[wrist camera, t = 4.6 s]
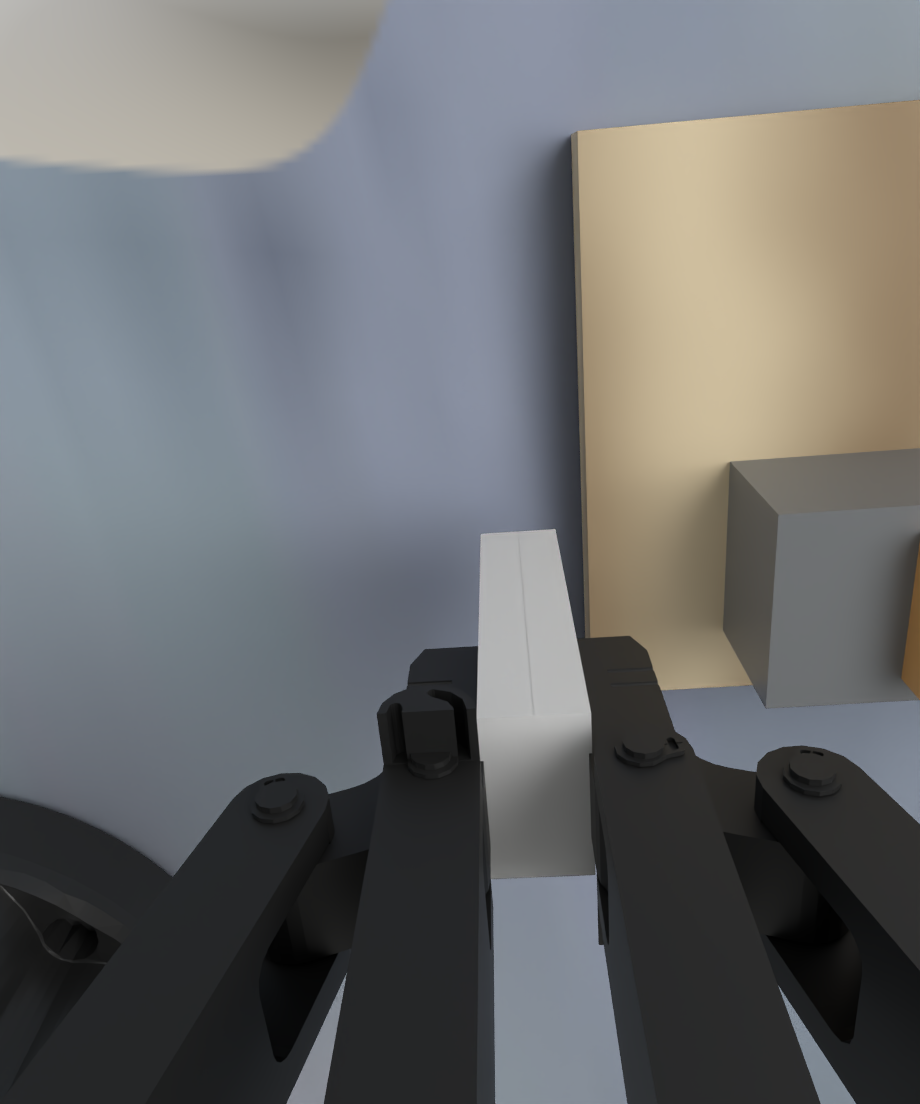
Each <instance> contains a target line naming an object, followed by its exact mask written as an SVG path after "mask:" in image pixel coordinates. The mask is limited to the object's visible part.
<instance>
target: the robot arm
mask: <svg viewBox="0 0 920 1104" xmlns="http://www.w3.org/2000/svg"><path fill="white" fill-rule="evenodd" d="M377 719H378V726H379V733H380V740H381V747H382V755H383V762H384V767H383V772H382V773H381V774H380V775H378V776H377V777H376V778H374V779H372V780H370V781H368V782H366V783H365V784H362V785H359V786H356V787H353V788H350V789H347V790H343V791H339V792H336V793H332V794H328V792H327V789H326V786H325V785H324V784H323V783H322V782H320V781H319V780H318V779H317V778H315V777H312V776H309V775H305V774H301V773H285V774H278V775H274V776H270V777H266V778H263V779H261V780H259V781H257V782H255V783H253V784H251V785H249V786H247V787H246V788H244V789H243V790H242V791H241V792H240V793H239V794H238V795H237V796H236V797H235V798H234V799H233V800H232V801H231V802H230V804H229V805H228V806H227V808H226V809H225V810H224V811H223V813H222V814H221V815H220V817H219V818H218V819H217V821H216V822H215V823H214V825H213V826H212V827H211V828H210V830H209V831H208V832H207V834H206V835H205V836H204V838H203V839H202V840H201V841H200V843H199V844H198V845H197V847H196V848H195V849H194V851H193V852H192V853H191V854H190V856H189V857H188V858H187V860H186V861H185V862H184V864H183V865H182V866H181V867H180V869H179V870H178V871H177V873H176V874H175V875H174V877H173V878H172V877H171V876H170V875H168V874H167V873H166V872H165V871H163V870H162V869H161V868H160V867H158V866H157V865H156V864H155V863H153V862H152V861H150V860H149V859H147V858H146V857H145V856H143V855H142V854H140V853H139V852H137V851H136V850H134V849H133V848H131V847H129V846H128V845H126V844H124V843H123V842H121V841H119V840H118V839H116V838H114V837H112V836H110V835H108V834H106V833H104V832H103V831H101V830H98V829H96V828H94V827H92V826H90V825H88V824H86V823H83V822H81V821H79V820H76V819H74V818H71V817H69V816H66V815H64V814H61V813H58V812H55V811H52V810H49V809H46V808H43V807H40V806H36V805H32V804H29V803H25V802H22V801H17V800H12V799H8V798H3V797H0V1104H286V1103H287V1101H288V1099H289V1096H290V1094H291V1092H292V1090H293V1088H294V1086H295V1083H296V1081H297V1079H298V1077H299V1075H300V1073H301V1070H302V1068H303V1066H304V1064H305V1062H306V1060H307V1057H308V1055H309V1053H310V1051H311V1049H312V1047H313V1044H314V1042H315V1040H316V1038H317V1036H318V1034H319V1031H320V1029H321V1027H322V1025H323V1023H324V1021H325V1018H326V1016H327V1014H328V1012H329V1010H330V1008H331V1005H332V1003H333V1001H334V999H335V997H336V995H337V992H338V990H339V988H340V986H341V984H342V982H343V979H344V977H345V975H346V973H347V976H346V982H345V987H344V993H343V999H342V1004H341V1010H340V1016H339V1021H338V1027H337V1032H336V1038H335V1044H334V1049H333V1055H332V1061H331V1066H330V1072H329V1078H328V1083H327V1089H326V1095H325V1100H324V1104H495V1051H494V948H493V901H492V889H491V879H506V878H531V877H556V876H580V875H595V864H596V870H597V895H598V934H599V945H604V949H605V956H606V962H607V969H608V976H609V982H610V989H611V996H612V1003H613V1009H614V1016H615V1023H616V1030H617V1036H618V1043H619V1050H620V1056H621V1063H622V1070H623V1077H624V1083H625V1090H626V1097H627V1104H820V1101H819V1098H818V1095H817V1092H816V1090H815V1087H814V1084H813V1081H812V1078H811V1076H810V1073H809V1070H808V1067H807V1065H806V1062H805V1059H804V1056H803V1053H802V1051H801V1048H800V1045H799V1042H798V1040H797V1037H796V1034H795V1031H794V1028H793V1026H792V1023H791V1020H790V1017H789V1014H788V1012H787V1009H786V1006H785V1003H784V1001H783V998H782V995H781V992H780V989H779V987H780V988H781V990H782V991H783V993H784V994H785V996H786V997H787V999H788V1001H789V1002H790V1004H791V1005H792V1007H793V1008H794V1010H795V1011H796V1013H797V1014H798V1016H799V1017H800V1019H801V1020H802V1022H803V1023H804V1025H805V1026H806V1028H807V1029H808V1031H809V1032H810V1034H811V1035H812V1037H813V1038H814V1040H815V1042H816V1043H817V1045H818V1046H819V1048H820V1049H821V1051H822V1052H823V1054H824V1055H825V1057H826V1058H827V1060H828V1061H829V1063H830V1064H831V1066H832V1067H833V1069H834V1070H835V1072H836V1073H837V1075H838V1076H839V1078H840V1080H841V1081H842V1083H843V1084H844V1086H845V1087H846V1089H847V1090H848V1092H849V1093H850V1095H851V1096H852V1098H853V1099H854V1101H855V1102H856V1104H920V824H919V823H918V822H917V821H916V820H915V819H914V818H913V817H911V816H910V815H909V814H908V813H907V812H906V811H905V810H904V809H903V808H902V807H901V806H900V805H899V804H898V803H897V802H896V801H895V800H893V799H892V798H891V797H890V796H889V795H888V794H887V793H886V792H885V791H884V790H883V789H882V788H881V787H880V786H879V785H878V784H877V783H875V782H874V781H873V780H872V779H871V778H870V777H869V776H868V775H867V774H866V773H865V772H864V771H863V770H862V769H861V768H860V767H858V766H857V765H855V764H854V763H852V762H851V761H850V760H848V759H847V758H845V757H844V756H841V755H839V754H836V753H833V752H831V751H828V750H825V749H821V748H815V747H808V746H792V747H782V748H779V749H777V750H774V751H771V752H768V753H767V754H766V755H765V756H764V757H763V758H762V759H761V760H760V761H759V762H758V765H757V772H752V771H745V770H739V769H733V768H728V767H724V766H719V765H715V764H712V763H710V762H707V761H705V760H702V759H700V758H699V757H697V756H695V753H694V750H693V748H692V747H691V745H690V744H689V743H688V741H687V740H686V738H684V737H683V736H681V735H680V734H678V733H676V732H675V730H674V727H673V724H672V721H671V718H670V715H669V712H668V710H667V707H666V704H665V701H664V698H663V695H662V692H661V689H660V686H659V685H658V680H657V677H656V674H655V672H654V671H653V666H652V663H651V660H650V657H649V654H648V651H647V649H645V648H644V647H643V646H642V645H640V644H639V643H638V642H637V641H636V640H634V639H633V638H632V637H631V636H615V637H597V638H579V639H577V638H576V632H575V627H574V622H573V617H572V612H571V607H570V602H569V597H568V591H567V586H566V581H565V576H564V571H563V566H562V561H561V556H560V550H559V545H558V540H557V535H556V530H555V529H548V530H533V531H517V532H502V533H486V534H481V547H480V590H479V634H478V646H475V647H458V648H440V649H425V650H424V651H423V652H422V653H421V654H420V655H419V656H418V657H417V659H416V660H415V661H414V662H413V663H412V664H411V665H410V671H409V677H408V686H407V689H406V690H403V691H401V692H398V693H396V694H394V695H393V696H391V697H390V698H389V699H387V700H386V701H385V702H383V703H382V705H381V707H380V709H379V711H378V712H377ZM778 985H779V987H778Z"/></svg>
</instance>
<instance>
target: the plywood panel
mask: <svg viewBox="0 0 920 1104" xmlns="http://www.w3.org/2000/svg"><path fill="white" fill-rule="evenodd" d="M571 149H572V185H573V220H574V256H575V291H576V327H577V362H578V398H579V433H580V469H581V504H582V540H583V576H584V611H585V638H597V637H615V636H631V637H632V638H633V639H634V640H636V641H637V642H638V643H639V644H640V645H642V646H643V647H644V648H645V649H647V651H648V654H649V657H650V660H651V663H652V666H653V671H654V672H655V674H656V677H657V680H658V685H659V686H660V689H661V690H676V689H693V688H711V687H728V686H746V685H753V684H752V682H751V681H750V679H749V677H748V675H747V673H746V671H745V670H744V668H743V666H742V664H741V662H740V661H739V659H738V657H737V655H736V653H735V651H734V650H733V648H732V646H731V644H730V642H729V641H728V639H727V637H726V635H725V633H724V631H723V616H724V592H725V568H726V544H727V520H728V496H729V472H730V462H731V461H745V460H759V459H773V458H787V457H801V456H816V455H830V454H844V453H858V452H872V451H886V450H901V449H915V448H920V100H913V101H902V102H891V103H880V104H869V105H858V106H847V107H836V108H825V109H814V110H803V111H792V112H781V113H770V114H759V115H748V116H737V117H726V118H715V119H704V120H693V121H682V122H671V123H660V124H649V125H638V126H627V127H616V128H605V129H594V130H583V131H577V132H575V133H573V134H572V135H571Z"/></svg>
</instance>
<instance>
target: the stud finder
mask: <svg viewBox="0 0 920 1104" xmlns="http://www.w3.org/2000/svg"><path fill="white" fill-rule="evenodd" d="M723 631H724V633H725V635H726V637H727V639H728V641H729V642H730V644H731V646H732V648H733V650H734V651H735V653H736V655H737V657H738V659H739V661H740V662H741V664H742V666H743V668H744V670H745V671H746V673H747V675H748V677H749V679H750V681H751V682H752V684H753V686H754V688H755V690H756V692H757V693H758V695H759V697H760V699H761V701H762V702H763V704H764V706H765V708H784V707H802V706H820V705H838V704H856V703H873V702H891V701H909V700H920V448H915V449H901V450H886V451H872V452H858V453H844V454H830V455H816V456H801V457H787V458H773V459H759V460H745V461H731V462H730V472H729V496H728V520H727V544H726V568H725V592H724V616H723Z"/></svg>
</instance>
